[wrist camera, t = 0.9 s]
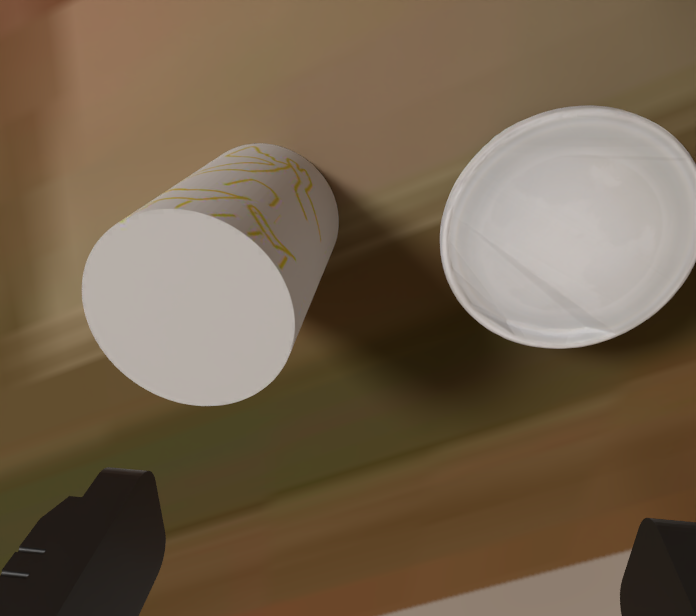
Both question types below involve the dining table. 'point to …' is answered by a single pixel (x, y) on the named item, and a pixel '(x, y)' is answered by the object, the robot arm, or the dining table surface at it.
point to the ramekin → (571, 227)
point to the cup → (213, 276)
